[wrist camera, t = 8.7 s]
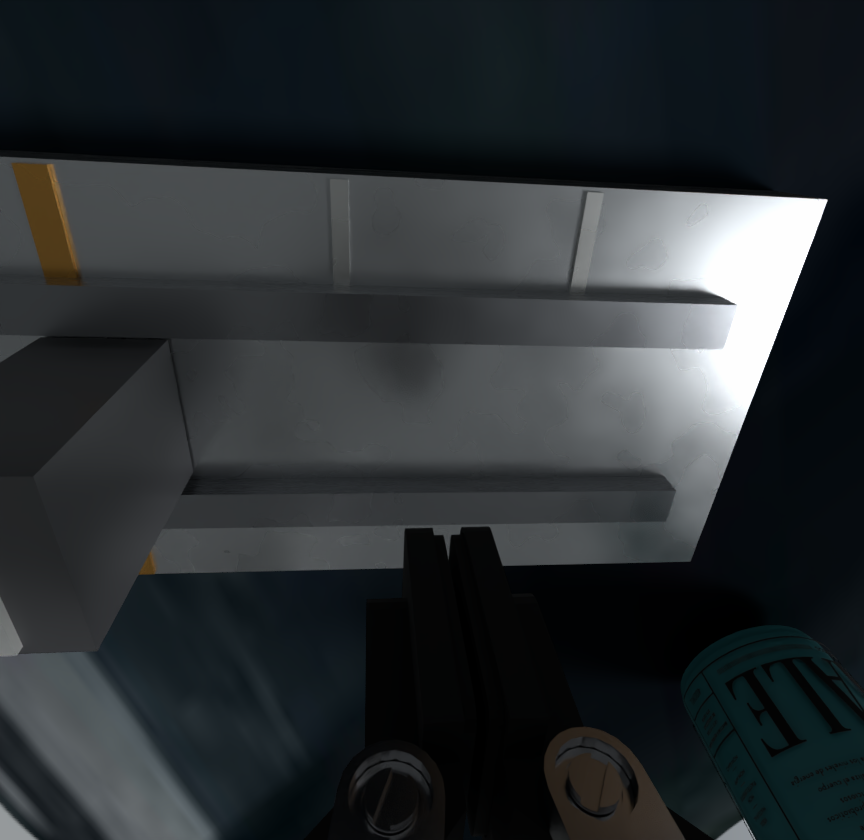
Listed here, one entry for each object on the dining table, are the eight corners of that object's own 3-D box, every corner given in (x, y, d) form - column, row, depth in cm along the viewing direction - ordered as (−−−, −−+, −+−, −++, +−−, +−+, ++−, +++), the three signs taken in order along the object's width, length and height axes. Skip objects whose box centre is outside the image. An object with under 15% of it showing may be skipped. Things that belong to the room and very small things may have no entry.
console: (664, 524, 21) (713, 593, 18) (-65, 536, 18) (-155, 619, 15) (775, 190, 15) (876, 207, 12) (-268, 135, 12) (-480, 139, 9)
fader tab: (192, 471, 15) (92, 660, 10) (82, 472, 15) (-84, 667, 10) (167, 339, 13) (25, 483, 8) (40, 337, 13) (-197, 485, 8)
